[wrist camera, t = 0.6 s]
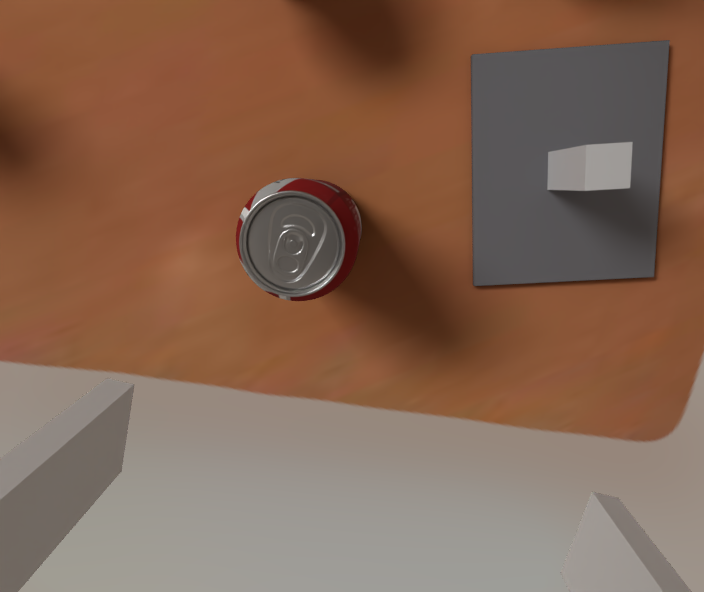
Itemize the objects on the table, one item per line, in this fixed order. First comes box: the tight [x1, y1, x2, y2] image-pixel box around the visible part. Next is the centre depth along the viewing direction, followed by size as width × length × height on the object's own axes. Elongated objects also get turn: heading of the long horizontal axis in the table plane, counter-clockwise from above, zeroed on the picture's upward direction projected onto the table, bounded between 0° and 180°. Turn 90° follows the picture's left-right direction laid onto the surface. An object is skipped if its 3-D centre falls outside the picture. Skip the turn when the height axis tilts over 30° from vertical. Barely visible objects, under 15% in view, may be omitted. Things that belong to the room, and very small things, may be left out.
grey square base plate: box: [471, 40, 670, 286], centre depth 33 cm, size 16×13×7 cm
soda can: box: [236, 178, 362, 301], centre depth 32 cm, size 7×7×12 cm
